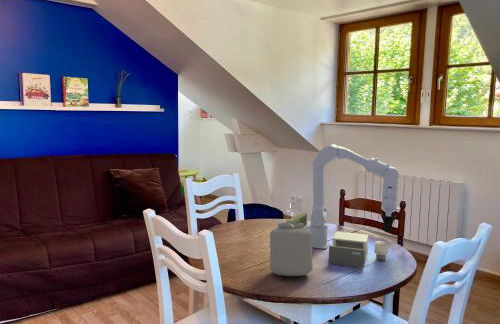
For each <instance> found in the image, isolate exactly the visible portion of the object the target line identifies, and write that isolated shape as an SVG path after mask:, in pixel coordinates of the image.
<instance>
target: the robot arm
mask: <svg viewBox="0 0 500 324" xmlns="http://www.w3.org/2000/svg"><path fill="white" fill-rule="evenodd" d="M336 158H337V160H339V159H346V160H349V161H351V162H353V163H356V164H358V165H361V166H363V167H364V169H365V171H366V172H368V173H371V174H373V175H374V176H376V177H379V178H383V184H382V189H381V190H382V193H381V207H380V209H381V212H382V213H381V214H380V217H381V219H382V223H383V230H384V233H389V234H390V233H391V232H392V228H393V225H394V221H395V220H396V218H397V216H396V213H397V211H400V210H401V209H400V207H398V206H397V204H398V189H399V186H398V180H399V171H398V169H397V168H396V167H395V166H393V165H390V164H389V163H385V162H382V161H380V160H379V158H377V157H375V158H374V157H370V158H367V157H364V156H363V155H361V154H358V153H357V152H354V151H352V150H350V149H348V148H347V147H344V146H341V145H338V144H336V143H329V144H328V145H325V146H324V147H323V148H321V149H320V150H319V152H318V153H317V155H316V157H315V158H314V160H313V161H312V189H313V190H312V191H313V192H312V193H313V195H312V197H313V198H312V199H313V200H312V201H313V204H312V208H311V214H310V217H309V220H310V221H309V222H310V223H309V224H308V223H307V225H306V226H305V227H304V228H307V229H308V230H310V231H311V233H312V249H313V248H314V249H315V248H316V249H322V250H326V249H327V248H329V246H330V242H328V230H329V229H328V226H329V225H328V223H327V221H328V219H329V213H328V210H327V205H326V188H325V187H326V182H325V177H326V176H325V174H326V171H325V167H326V166H327V165H328V164H329V163H330V162H332V161H334V160H335V159H336Z"/></svg>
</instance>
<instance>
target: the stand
mask: <svg viewBox="0 0 500 324" xmlns="http://www.w3.org/2000/svg"><path fill="white" fill-rule="evenodd" d="M386 258H387V255H378V254H375V261H377V262H379V263H384V262H386Z"/></svg>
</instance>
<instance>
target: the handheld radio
mask: <svg viewBox="0 0 500 324" xmlns="http://www.w3.org/2000/svg"><path fill="white" fill-rule="evenodd" d="M285 223H303V228H305V227H306V225H307V224H308V213H307V212H302V213H299V214H297V215H296V216H292V217H291V218H289V219H287V220H286V221H285Z"/></svg>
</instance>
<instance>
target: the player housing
mask: <svg viewBox="0 0 500 324" xmlns="http://www.w3.org/2000/svg"><path fill="white" fill-rule="evenodd" d="M332 246H338V247H346V248H355V249H364V250H365V258H364V261H366V260H367V257H368V251H369V249H368V248H369V234H367V233H366V234H364V233H355V232H348V231H347V232H346V231H336V232H335V233H334V235H333V237H332Z"/></svg>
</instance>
